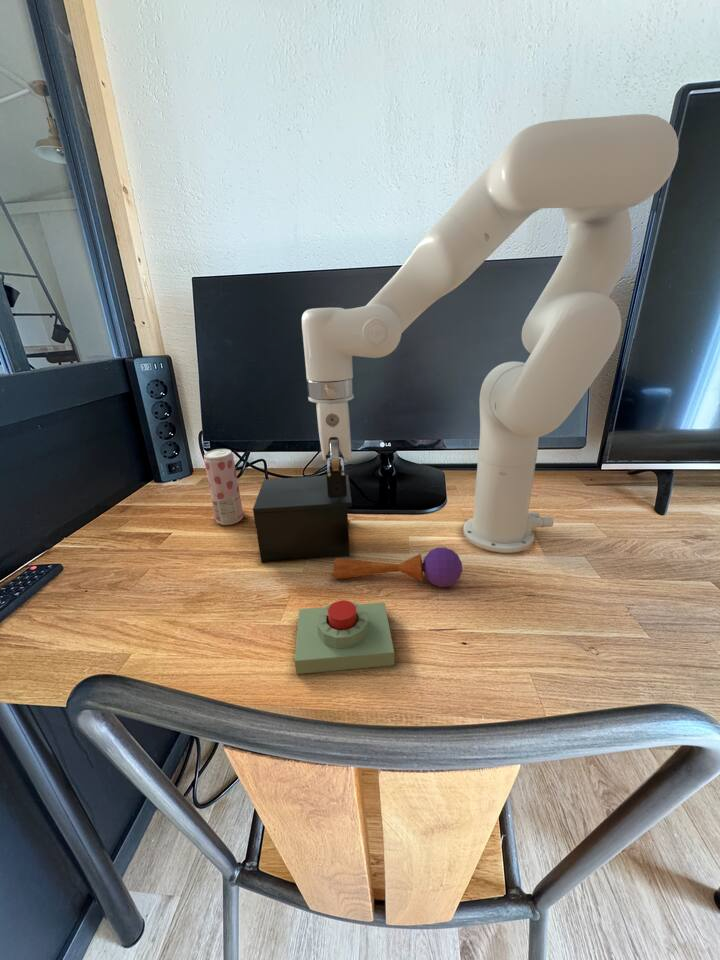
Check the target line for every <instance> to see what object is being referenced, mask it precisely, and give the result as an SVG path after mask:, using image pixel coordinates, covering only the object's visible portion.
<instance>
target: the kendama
mask: <svg viewBox="0 0 720 960" xmlns="http://www.w3.org/2000/svg"><path fill="white" fill-rule="evenodd" d="M395 572H400V573H401V574H402V573H403V574H404V575H407V576H409V577H412V578H413V579H415V580H418V581H420V582H423V576H425V579H426V580H427V581H428V582H429V583H431V584H432V585H434V586H437V587H438V588H444V587H449V586H453V585H455V584H456V583H457V582H458V580H459V579H460V578H461V576H462V572H463V562H462V560H461V558H460V556H459V555H458V554H457V553H456V552H455V551H454V550H453V549H451V548H448V547H444V546H443V547H441V546H440V547H435V548H433V549H431V550H430V551H429V552H428V553H427V554H426V555H425V556H424V559H422V553H419V554H416V555H415V556H414V555H413V556H412V557H411V558H408V559H405V560H404V561H402V562H400V563H390V562H382V561H381V562H380V561H372V560H371V561H369V560H361V559H359V560H358V559H347V558H340V557H334V561H333V577H334V579H335V580H339V579H347V578H348V579H349V578H355V577H364V576H371V575H379V574H387V573H395Z"/></svg>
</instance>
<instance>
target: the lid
mask: <svg viewBox="0 0 720 960" xmlns="http://www.w3.org/2000/svg"><path fill="white" fill-rule="evenodd" d="M346 487H347V496H346V497H333V498H329V497H328V489H327V476H326V475H317V476H315V475H313V476H301V477H299V476H298V477H286V478H285V477H284V478H282V477H281V478H267V479H266V478H265V479H263V480H262V484H261V487H260V489H259V492H258V494H257V497H256V499H255V502H254V505H253V507H252V513H253V514H254V513H264V512H279V511H295V510H310V509H325V508H341V507H347V508H352V507H353V503H352V501H353V500H352V495H351V487H350V478H349V474H348V473H347V474H346Z"/></svg>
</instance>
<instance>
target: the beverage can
mask: <svg viewBox="0 0 720 960" xmlns="http://www.w3.org/2000/svg"><path fill="white" fill-rule="evenodd" d="M203 462H204V467H205V473H206V477H207V482H208V488H209V492H210V497H211V498H210V499H211V502H212V507H213V513H214V518H215V521H216V523H217V524H219V525H222V526H230V525H234V524H237V523H239V522H240V521H242V520H243V518H244V510H243V504H242V499H241V494H240V487H239V481H238V476H237V469H236V465H235V458H234V455H233V452H232V450H231V449H228V448H216V449H212V450H209V451H206V452H205V453H204V455H203Z"/></svg>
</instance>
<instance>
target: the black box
mask: <svg viewBox="0 0 720 960" xmlns="http://www.w3.org/2000/svg"><path fill="white" fill-rule="evenodd" d="M348 513H349V512H348V507H341V508H325V509H310V510H295V511H279V512H264V513H253V519H254V526H255V532H256V538H257V543H258V550H259V557H260V562H261V563H262V564H264V563H277V562H288V561H289V562H292V561H302V560H305V561H306V560H315V559H316V560H318V559H319V560H320V559H330V558H345V557H350V556H351V551H350V533H349V532H350V531H349V517H348V516H349V515H348Z"/></svg>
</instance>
